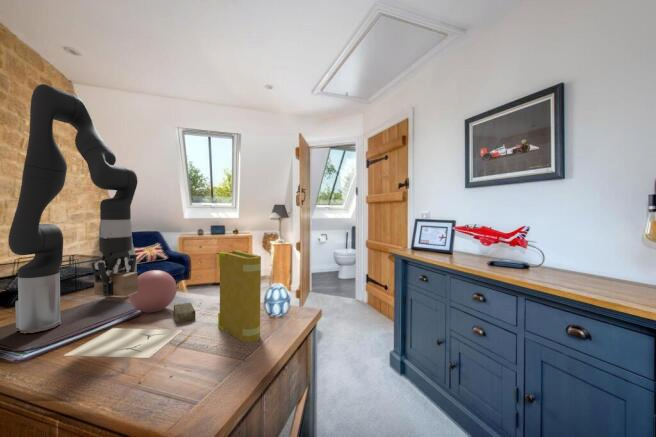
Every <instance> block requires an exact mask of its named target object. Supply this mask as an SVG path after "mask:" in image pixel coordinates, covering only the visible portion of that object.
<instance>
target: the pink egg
mask: <svg viewBox="0 0 656 437" xmlns="http://www.w3.org/2000/svg"><path fill="white" fill-rule="evenodd" d="M177 289H178V287H177V282H176V280H175V279H174V277H173V276H172V275H171V274H170V273H169V272H166V271H163V270H158V269H157V270H156V269H153V270H148V271H144V272H143V273H141V274H139V275H138V292H137V293H135V294H132V295H130V296H128V300H129V302H130V304H131V305H132V306H133V307H134V308H135V309H136V310H137V311H139V312H142V313H143V312H144V313H156V312H159V311H163V310H164V309H165V308H168V306H170V305H171V304H172V302H173V301H174V300H175V297H176V295H177V292H178V290H177Z"/></svg>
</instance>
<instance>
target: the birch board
mask: <svg viewBox="0 0 656 437" xmlns="http://www.w3.org/2000/svg"><path fill="white" fill-rule="evenodd" d="M183 331H184V330H183V329H156V328H155V329H154V328H153V329H151V328H116V327H115V328H114V327H112V328H111V329H109V330H107V331H105V332H103V333H102V334H100V335H97V336H96V337H94V338H93V339H91V340H89V341H87V342H85V343H84V344H83V343H82V345H80V346H78V347H76V348H74V349H73V350H70V351H69V352H66V353H65V354H63V356H65V357H66V356H67V357H68V356H69V357H94V358H95V357H98V358H99V357H101V358H102V357H103V358H132V359H135V358H136V359H139V358H140V359H142V358H143V359H150V358H151V357H152V356H154V355H155V354H156V353H157V352H158V351H160V350H161V349H162V348H163V347H164V346H166V345H167V344H168V343H169V342H171V340H173V339H175V338H176V337H177V336H178V335H179V334H180V333H182V332H183Z"/></svg>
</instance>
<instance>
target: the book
mask: <svg viewBox="0 0 656 437" xmlns="http://www.w3.org/2000/svg"><path fill="white" fill-rule="evenodd" d="M261 256H262V255H258V254H254V253H249V252H246V251H243V250H240V249H239V250H238V249H236V250H232V252H228V251H219V252H218V268H219V312H218V314H217V316H218V317H217V318H218V320H217V322H218V323H217V324H218V325H217V327H218V328H219V329H220V330H222V331H225V332H227V333H228V334H230V335H232V336H233V337H235V338H236V339H237V340H240V341H241V342H242V343H243V342H244V343H254V342H257V341H258V340H259V339H260V338H261V296H262V295H261V284H262V283H261V280H262V279H261V278H262V277H261V276H262V274H261V272H262V266H261V265H262V257H261Z"/></svg>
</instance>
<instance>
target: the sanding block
mask: <svg viewBox="0 0 656 437" xmlns="http://www.w3.org/2000/svg"><path fill="white" fill-rule="evenodd" d="M138 276H139V275H138V272H117V274H116V275H114V276H113V282H112V283H113V295H112V296H104V294H103V283H97V282H96V281H95V277H94V276H93V286H94V288H93V290H94V293H93V296H94V297H95V298H97V297H98V298H99V297H100V298H101V297H102V298H103V297H104V298H105V297H106V298H127V297H128V298H129V296H130V295H132V294H135V293H137V292H138ZM100 278H102V277H101V275H100ZM107 279H109V275H108V276H107Z"/></svg>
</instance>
